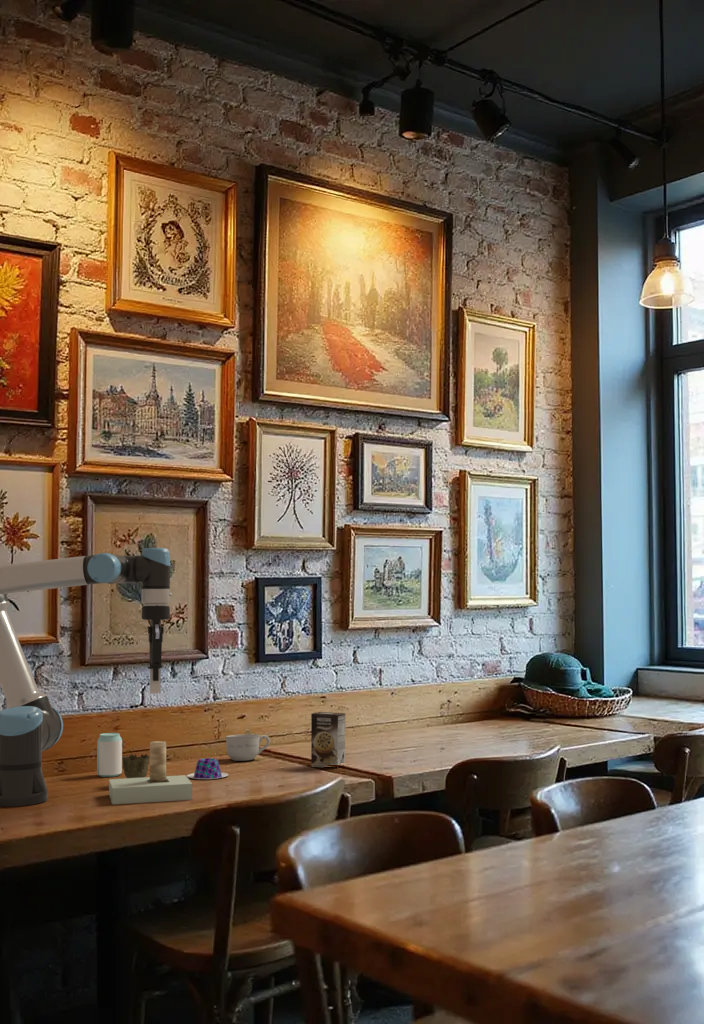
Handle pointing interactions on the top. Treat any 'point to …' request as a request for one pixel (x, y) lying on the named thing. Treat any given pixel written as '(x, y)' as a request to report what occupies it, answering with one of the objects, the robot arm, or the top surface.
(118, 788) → the board
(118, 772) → the can
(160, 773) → the peg
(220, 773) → the pudding
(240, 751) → the teacup
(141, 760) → the cup
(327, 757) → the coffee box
